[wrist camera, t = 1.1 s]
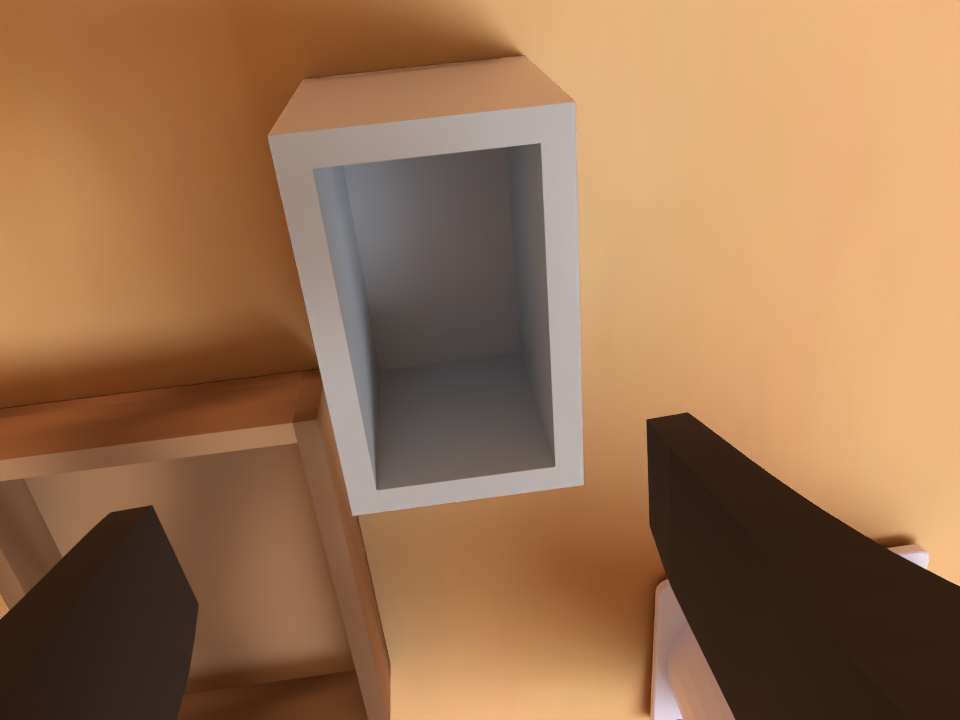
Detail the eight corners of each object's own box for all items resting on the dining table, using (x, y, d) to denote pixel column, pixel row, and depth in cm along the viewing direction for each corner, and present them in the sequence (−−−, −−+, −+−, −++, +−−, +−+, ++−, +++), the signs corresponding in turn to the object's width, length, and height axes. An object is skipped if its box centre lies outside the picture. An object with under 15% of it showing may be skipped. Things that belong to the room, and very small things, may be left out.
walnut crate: (325, 368, 20) (316, 419, 18) (390, 664, 26) (390, 729, 24) (-21, 411, 20) (-71, 469, 18) (126, 702, 26) (102, 772, 24)
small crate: (524, 55, 17) (575, 101, 12) (540, 360, 21) (583, 485, 16) (303, 79, 17) (267, 135, 12) (362, 382, 21) (352, 515, 16)
